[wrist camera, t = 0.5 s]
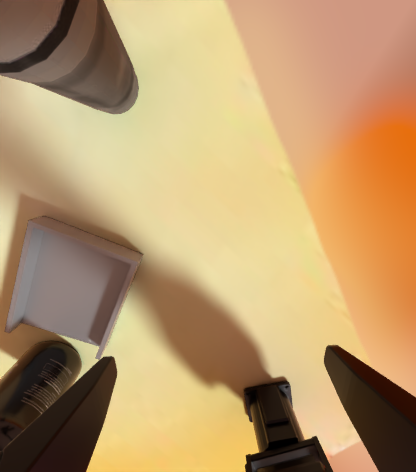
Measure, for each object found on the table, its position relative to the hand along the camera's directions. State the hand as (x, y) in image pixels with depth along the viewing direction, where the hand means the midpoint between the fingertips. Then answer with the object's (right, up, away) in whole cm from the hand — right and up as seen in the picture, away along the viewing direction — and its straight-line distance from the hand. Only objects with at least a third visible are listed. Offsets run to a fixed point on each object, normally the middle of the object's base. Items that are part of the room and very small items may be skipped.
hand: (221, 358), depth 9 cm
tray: (-15, -1, +14) cm, 21 cm away
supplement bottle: (-20, -11, +18) cm, 29 cm away
